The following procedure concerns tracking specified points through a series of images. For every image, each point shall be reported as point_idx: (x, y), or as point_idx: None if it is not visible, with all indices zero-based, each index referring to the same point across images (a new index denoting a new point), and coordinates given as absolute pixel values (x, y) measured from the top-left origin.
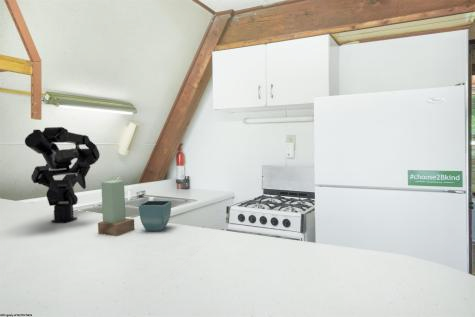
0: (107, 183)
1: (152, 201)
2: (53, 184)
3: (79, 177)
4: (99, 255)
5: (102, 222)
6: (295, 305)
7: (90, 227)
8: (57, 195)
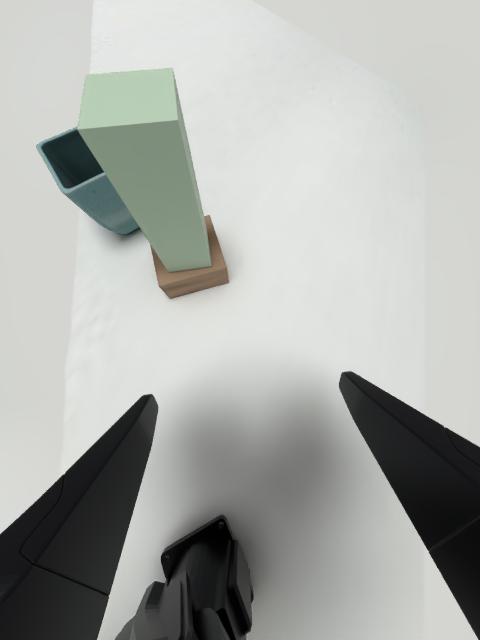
0: (175, 91)
1: (61, 182)
2: (422, 418)
3: (67, 584)
4: (294, 167)
5: (217, 261)
6: (244, 3)
7: (206, 362)
8: None
